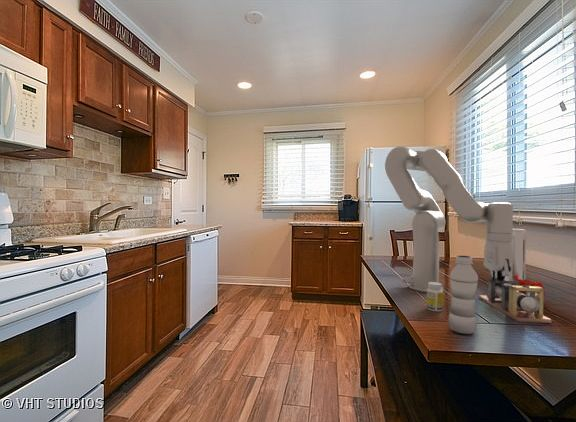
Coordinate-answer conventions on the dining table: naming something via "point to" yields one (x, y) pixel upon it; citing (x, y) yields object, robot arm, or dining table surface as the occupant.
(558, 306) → the dining table surface
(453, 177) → the robot arm
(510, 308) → the collar rail
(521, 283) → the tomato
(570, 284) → the dining table surface
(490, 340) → the dining table surface
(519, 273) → the air filter
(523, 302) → the air tube
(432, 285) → the supplement bottle
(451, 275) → the plastic bottle
